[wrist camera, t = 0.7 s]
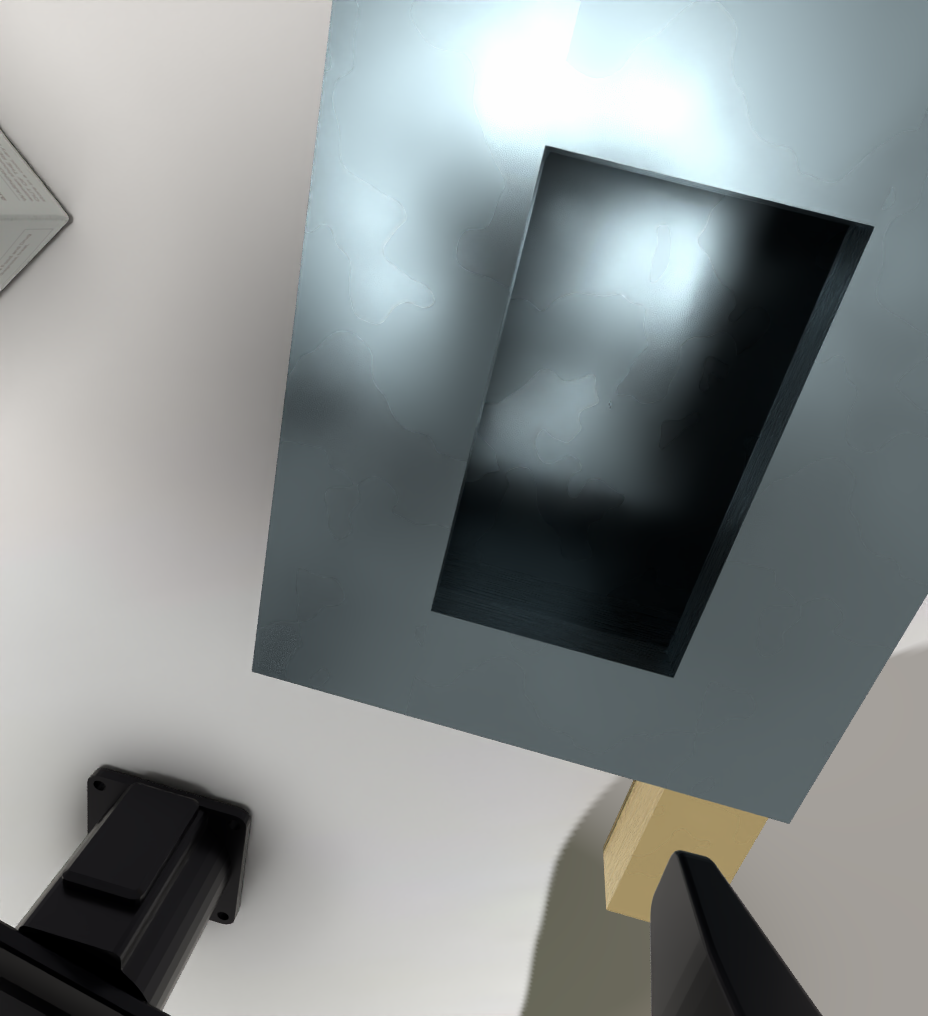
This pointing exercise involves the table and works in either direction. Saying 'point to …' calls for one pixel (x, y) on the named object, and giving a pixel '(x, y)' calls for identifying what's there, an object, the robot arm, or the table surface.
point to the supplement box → (23, 213)
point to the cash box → (611, 380)
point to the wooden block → (669, 842)
